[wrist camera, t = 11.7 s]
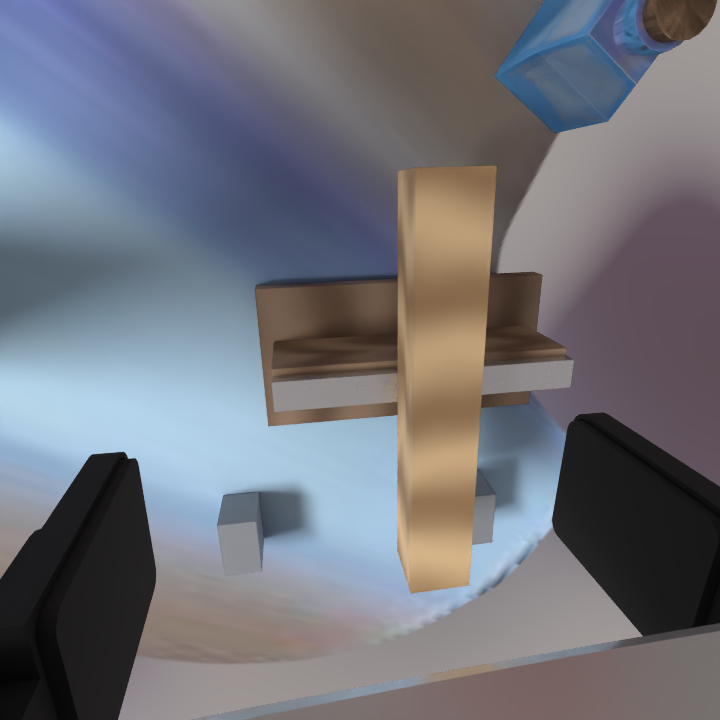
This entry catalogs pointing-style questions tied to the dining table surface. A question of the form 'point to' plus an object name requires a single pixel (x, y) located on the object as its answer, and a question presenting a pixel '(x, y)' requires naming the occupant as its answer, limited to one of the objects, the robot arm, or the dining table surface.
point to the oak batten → (441, 365)
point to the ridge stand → (388, 348)
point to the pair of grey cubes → (246, 535)
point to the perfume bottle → (594, 54)
